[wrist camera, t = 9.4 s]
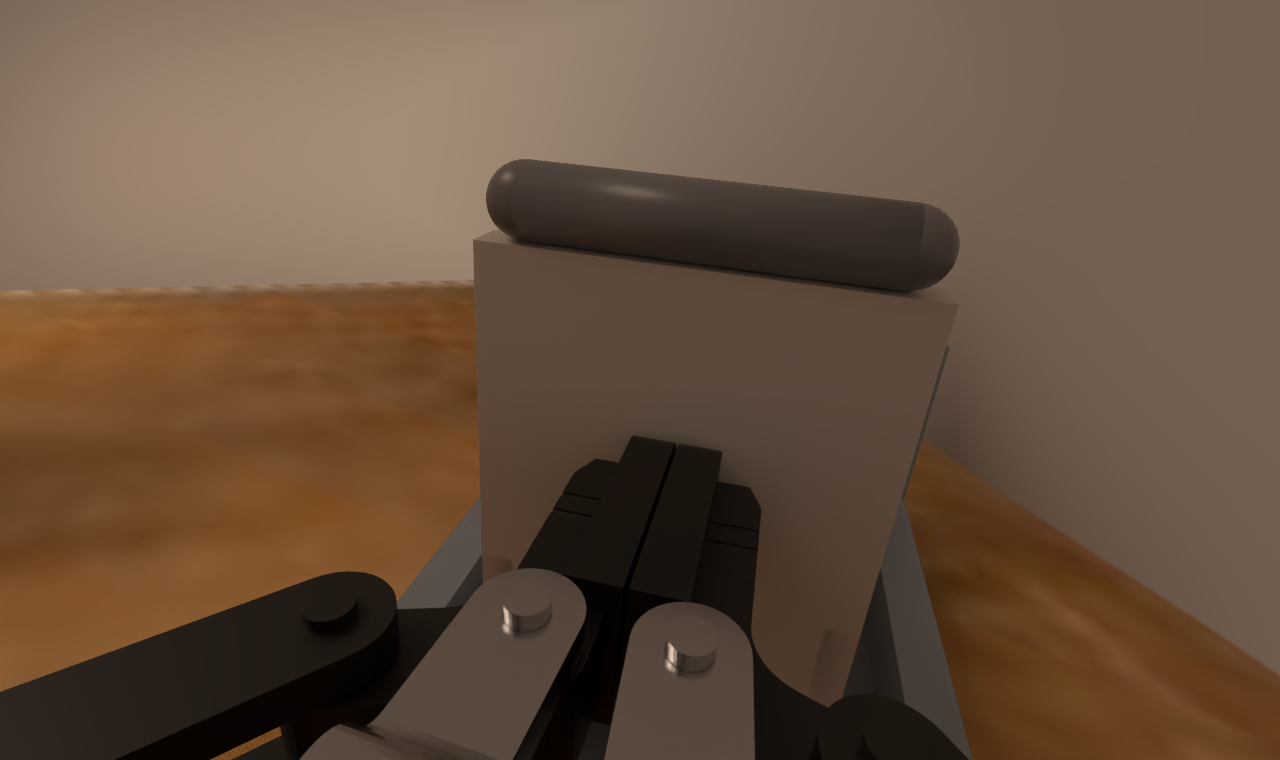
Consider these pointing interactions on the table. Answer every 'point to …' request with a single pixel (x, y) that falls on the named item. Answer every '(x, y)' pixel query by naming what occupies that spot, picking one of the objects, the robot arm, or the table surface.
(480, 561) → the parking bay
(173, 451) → the table surface
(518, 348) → the toy cart
